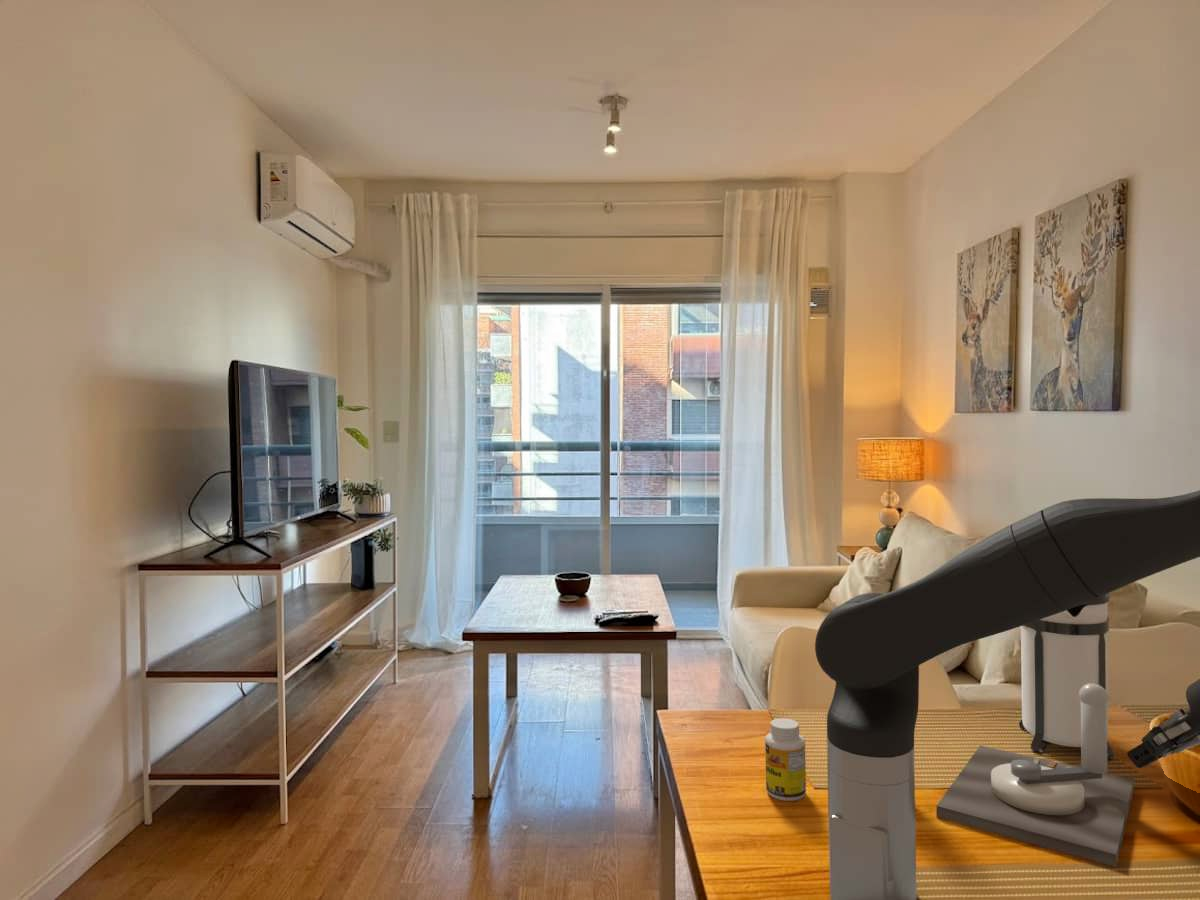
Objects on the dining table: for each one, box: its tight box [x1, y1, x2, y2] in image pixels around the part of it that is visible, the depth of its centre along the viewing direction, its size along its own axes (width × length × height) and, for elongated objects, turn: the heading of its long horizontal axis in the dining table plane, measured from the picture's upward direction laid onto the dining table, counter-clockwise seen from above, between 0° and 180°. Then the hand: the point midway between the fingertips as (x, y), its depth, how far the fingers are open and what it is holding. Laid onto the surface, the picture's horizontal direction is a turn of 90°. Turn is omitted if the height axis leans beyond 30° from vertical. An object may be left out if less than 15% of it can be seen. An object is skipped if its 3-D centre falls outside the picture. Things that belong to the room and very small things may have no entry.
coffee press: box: [1018, 593, 1115, 761], centre depth 126 cm, size 17×16×30 cm
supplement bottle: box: [764, 717, 807, 802], centre depth 110 cm, size 6×6×10 cm
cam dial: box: [991, 683, 1109, 815], centre depth 105 cm, size 16×11×15 cm
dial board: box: [935, 745, 1135, 868], centre depth 106 cm, size 24×20×2 cm
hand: (1135, 759), depth 101 cm, fingers closed
